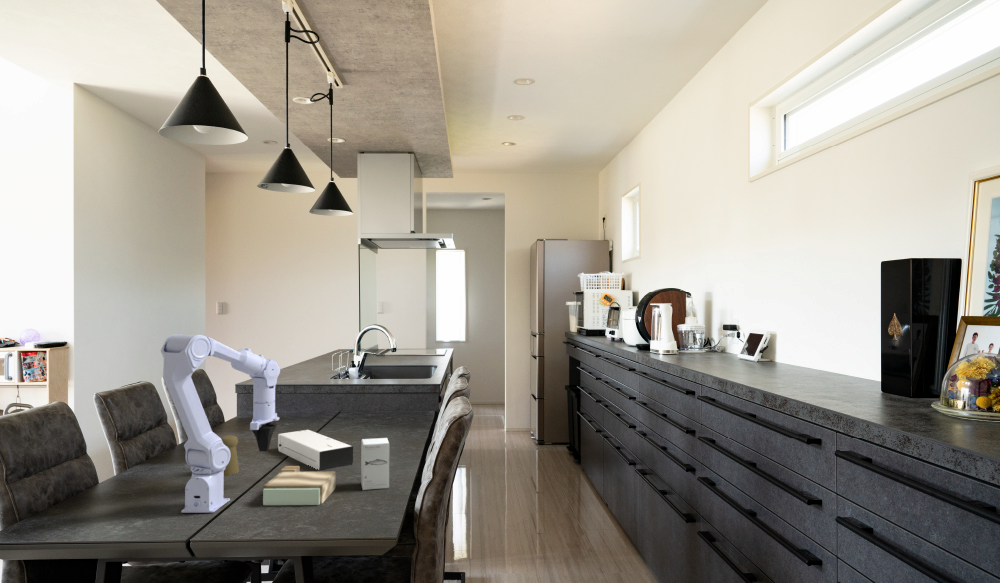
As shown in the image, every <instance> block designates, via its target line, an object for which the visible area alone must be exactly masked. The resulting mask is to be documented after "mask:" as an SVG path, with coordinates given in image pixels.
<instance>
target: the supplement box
mask: <svg viewBox="0 0 1000 583" xmlns="http://www.w3.org/2000/svg"><path fill="white" fill-rule="evenodd" d="M388 439H389V438H388V437H380V438H379V437H378V438H362V439H361V442H360V444H361V446H360V447H361V449H360V450H361V452H360V454H361V457H360V459H361V460H360V461H361V462H360V463H361V464H360V466H361V468H360V472H361V473H360V483H361V488H362V491H366V490H377V489H378V490H379V489H389V488H390V442H389V440H388Z"/></svg>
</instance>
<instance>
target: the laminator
mask: <svg viewBox="0 0 1000 583" xmlns="http://www.w3.org/2000/svg"><path fill="white" fill-rule="evenodd" d="M277 450H278V452H279V453H282V454H284V455H286V456H288V457H289V458H292V459H294V460H295V461H298V462H300V463H302V464H305V465H307V466H308V465H309V467H310V466H311V467H310V468H312V467H313V469H314V468H315V470H317V469H318V470H317V471H323V470H322V469H324V470H327V469H326V468H329V469H333V468H332V467H334V468H338V467H337V466H339V467H343V466H342V465H344V466H348V464H350V465H353V464H354V446H352V445H350V444H347V443H345V442H342V441H339V440H336V439H335V438H331V437H328V436H326V435H323V434H320V433H318V432H315V431H313V430H310V429H304V430H303V429H302V430H297V431H296V430H295V431H289V432H284V433H283V432H282V433H278V435H277Z"/></svg>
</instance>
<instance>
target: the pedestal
mask: <svg viewBox="0 0 1000 583" xmlns="http://www.w3.org/2000/svg"><path fill="white" fill-rule="evenodd" d="M300 470H301V469H300V466H299V465H285V466H284V467H282V468H281V469H280V472H301V471H300Z"/></svg>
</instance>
